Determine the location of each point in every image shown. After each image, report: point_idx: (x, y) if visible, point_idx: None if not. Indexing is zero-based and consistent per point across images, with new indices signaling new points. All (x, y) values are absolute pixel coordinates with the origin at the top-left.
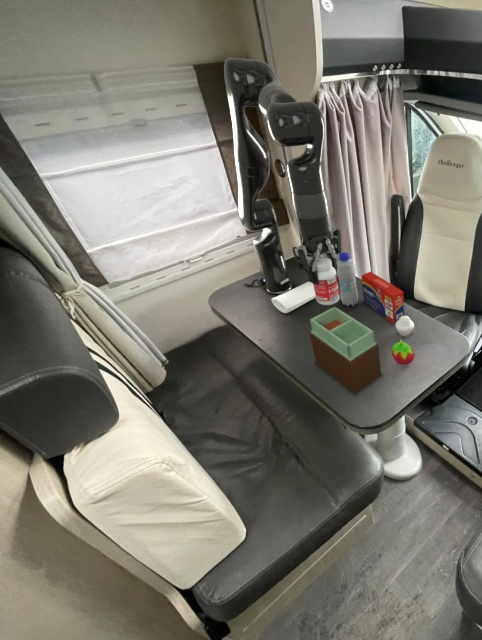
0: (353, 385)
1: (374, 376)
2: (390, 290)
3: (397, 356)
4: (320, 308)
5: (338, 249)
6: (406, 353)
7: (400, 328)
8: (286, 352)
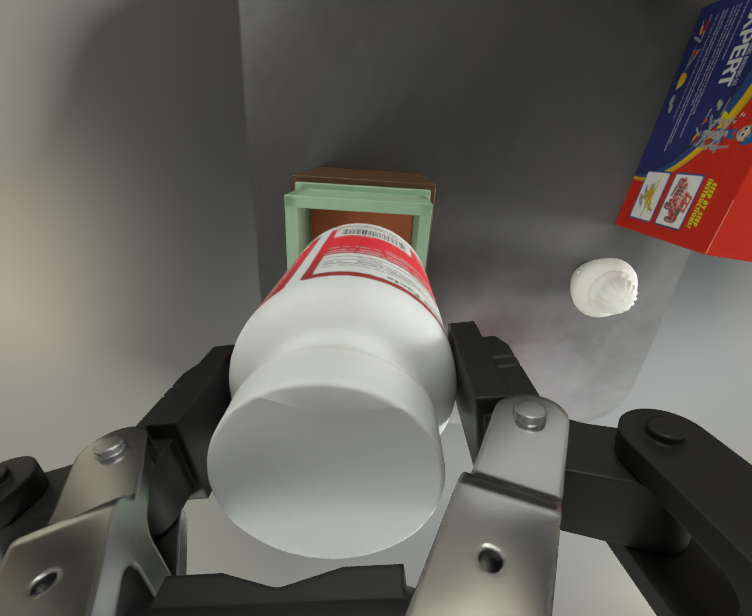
0: None
1: None
2: (747, 208)
3: None
4: None
5: (637, 584)
6: None
7: (577, 295)
8: (280, 26)
